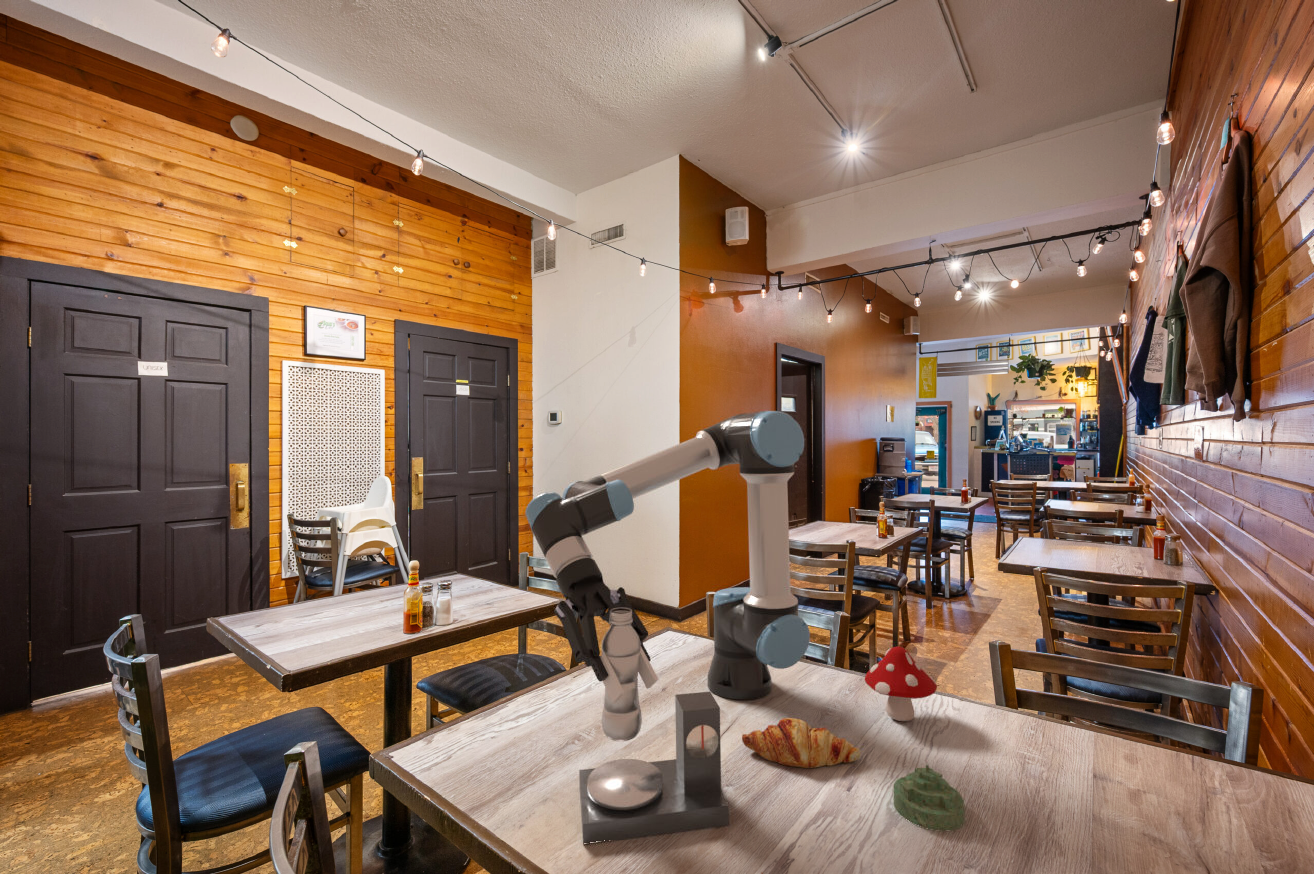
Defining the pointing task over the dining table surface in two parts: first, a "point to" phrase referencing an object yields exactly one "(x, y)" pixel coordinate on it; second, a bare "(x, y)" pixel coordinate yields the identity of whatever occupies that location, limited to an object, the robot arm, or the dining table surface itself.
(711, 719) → the scale
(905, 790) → the decorative artifact
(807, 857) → the dining table surface
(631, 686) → the plastic bottle
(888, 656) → the decorative mushroom
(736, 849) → the dining table surface
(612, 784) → the scale pan
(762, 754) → the croissant
